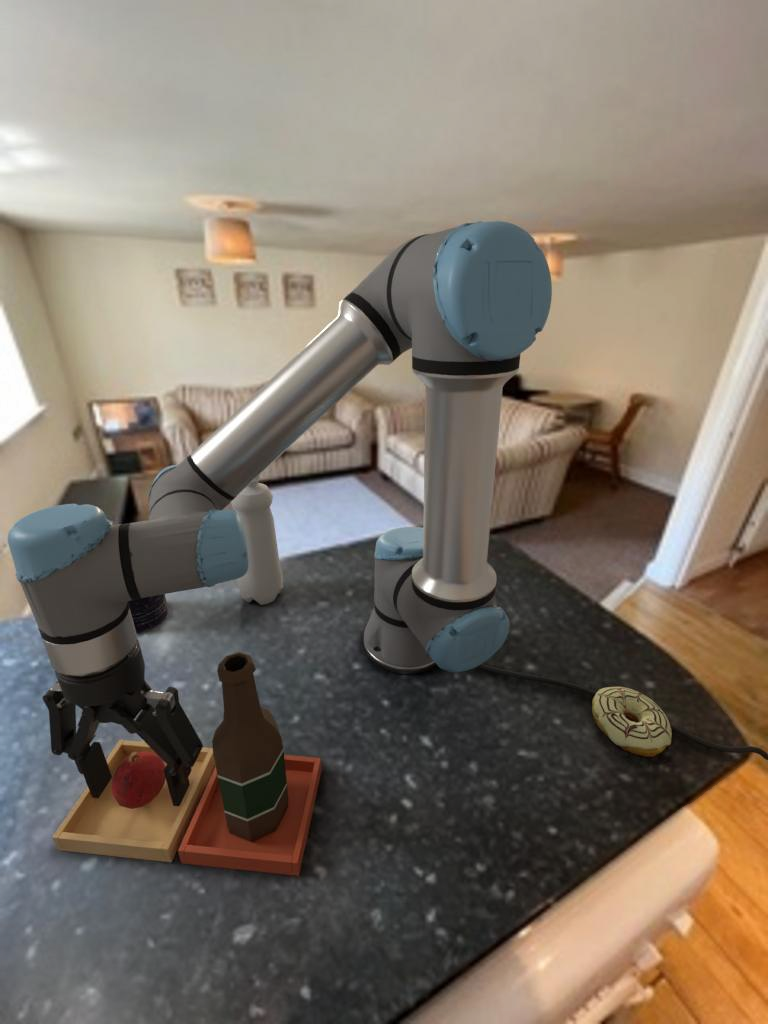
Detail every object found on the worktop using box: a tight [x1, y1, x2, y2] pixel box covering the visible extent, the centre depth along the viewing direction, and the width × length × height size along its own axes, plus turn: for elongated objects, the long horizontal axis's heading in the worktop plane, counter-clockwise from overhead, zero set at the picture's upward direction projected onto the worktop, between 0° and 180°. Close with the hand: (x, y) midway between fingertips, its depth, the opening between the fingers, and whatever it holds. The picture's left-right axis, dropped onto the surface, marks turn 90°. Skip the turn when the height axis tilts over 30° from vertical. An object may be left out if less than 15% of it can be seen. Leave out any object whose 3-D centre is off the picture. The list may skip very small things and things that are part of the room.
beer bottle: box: [211, 651, 288, 842], centre depth 50 cm, size 8×8×24 cm
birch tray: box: [51, 739, 215, 863], centre depth 56 cm, size 13×12×2 cm
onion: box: [112, 751, 166, 809], centre depth 54 cm, size 6×6×8 cm
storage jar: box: [128, 594, 169, 635], centre depth 84 cm, size 10×10×18 cm
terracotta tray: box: [177, 754, 323, 877], centre depth 55 cm, size 13×12×2 cm
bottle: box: [230, 474, 284, 606], centre depth 89 cm, size 9×9×30 cm
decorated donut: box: [591, 686, 673, 758], centre depth 67 cm, size 10×11×4 cm
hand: (141, 791), depth 55 cm, fingers open, 9 cm apart
